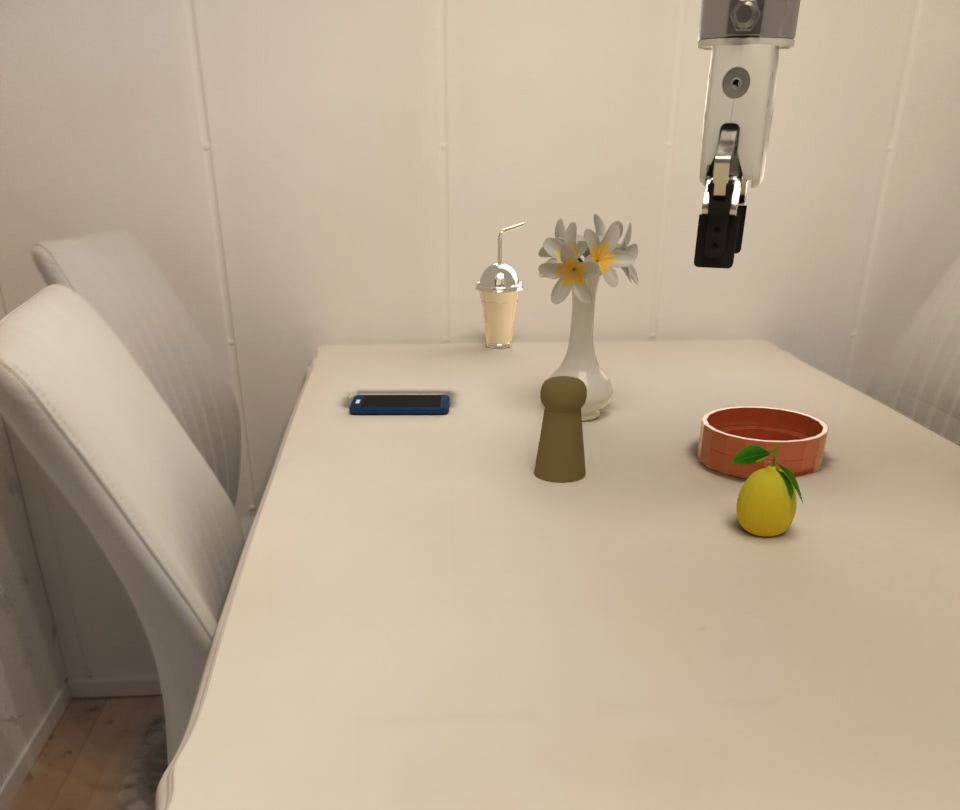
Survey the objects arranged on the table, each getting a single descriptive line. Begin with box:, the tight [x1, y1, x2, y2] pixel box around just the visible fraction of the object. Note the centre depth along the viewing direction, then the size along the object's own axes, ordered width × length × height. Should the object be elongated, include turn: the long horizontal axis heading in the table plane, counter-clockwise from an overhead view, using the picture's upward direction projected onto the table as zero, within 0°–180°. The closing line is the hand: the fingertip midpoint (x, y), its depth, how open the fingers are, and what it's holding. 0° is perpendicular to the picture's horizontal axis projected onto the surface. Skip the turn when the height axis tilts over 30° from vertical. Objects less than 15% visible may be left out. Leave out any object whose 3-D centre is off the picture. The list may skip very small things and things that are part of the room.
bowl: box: [696, 405, 829, 480], centre depth 108 cm, size 14×14×5 cm
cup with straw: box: [474, 222, 526, 349], centre depth 160 cm, size 8×9×20 cm
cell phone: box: [348, 394, 451, 415], centre depth 130 cm, size 7×14×1 cm, turn 90°
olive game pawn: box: [533, 376, 587, 483], centre depth 104 cm, size 6×6×11 cm
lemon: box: [731, 442, 804, 538], centre depth 88 cm, size 7×6×10 cm
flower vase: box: [538, 213, 639, 422], centre depth 120 cm, size 13×18×25 cm
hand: (718, 259), depth 81 cm, fingers open, 9 cm apart
